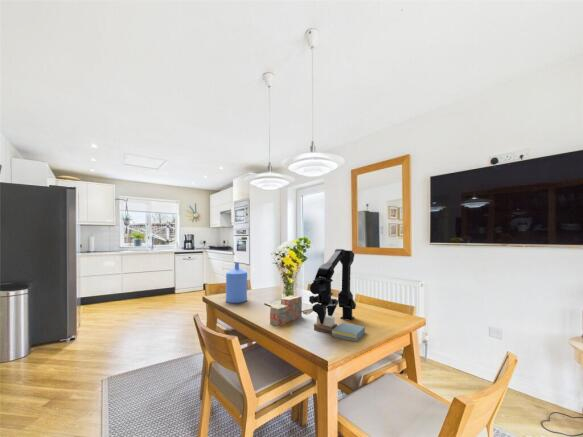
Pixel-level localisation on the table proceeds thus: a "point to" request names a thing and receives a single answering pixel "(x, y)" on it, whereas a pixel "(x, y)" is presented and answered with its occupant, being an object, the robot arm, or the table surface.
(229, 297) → the water jug
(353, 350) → the table surface
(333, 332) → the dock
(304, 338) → the table surface
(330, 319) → the off-white carton
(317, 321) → the tan carton
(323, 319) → the robot arm
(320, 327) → the pallet
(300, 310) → the stack of blocks
